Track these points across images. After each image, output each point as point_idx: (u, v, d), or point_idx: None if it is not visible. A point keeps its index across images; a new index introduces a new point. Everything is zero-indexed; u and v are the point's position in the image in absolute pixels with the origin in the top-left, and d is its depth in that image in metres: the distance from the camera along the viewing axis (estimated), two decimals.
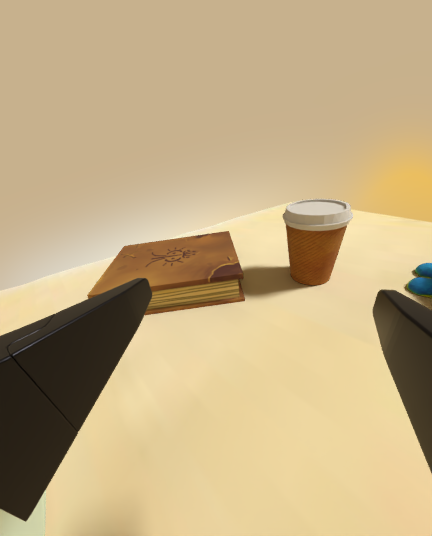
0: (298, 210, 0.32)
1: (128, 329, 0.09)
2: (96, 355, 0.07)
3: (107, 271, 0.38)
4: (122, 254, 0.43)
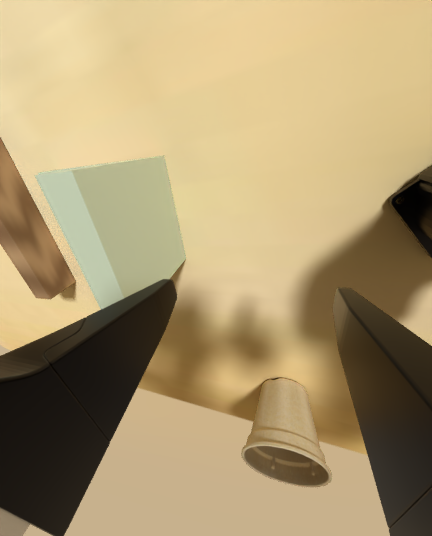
0: None
1: (156, 333, 0.08)
2: (127, 361, 0.07)
3: None
4: None
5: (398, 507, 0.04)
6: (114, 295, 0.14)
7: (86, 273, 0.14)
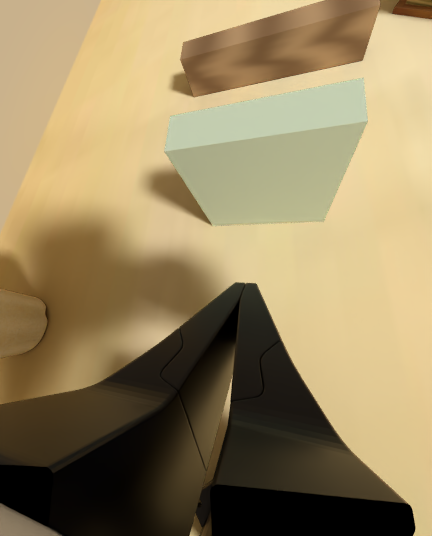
0: None
1: None
2: (221, 377, 0.06)
3: None
4: None
5: None
6: (205, 134, 0.12)
7: (237, 106, 0.12)
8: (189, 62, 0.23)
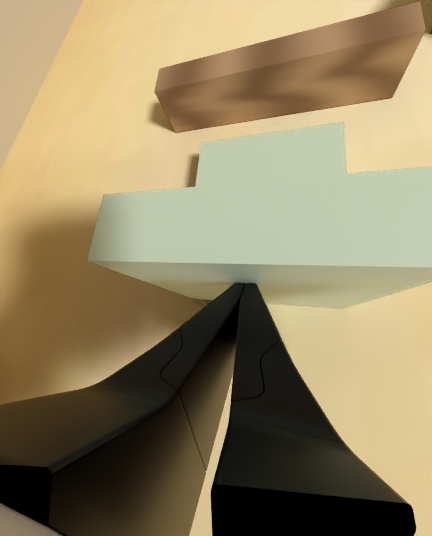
0: None
1: None
2: (221, 377, 0.06)
3: None
4: None
5: None
6: (153, 240, 0.07)
7: (209, 192, 0.07)
8: (166, 95, 0.18)
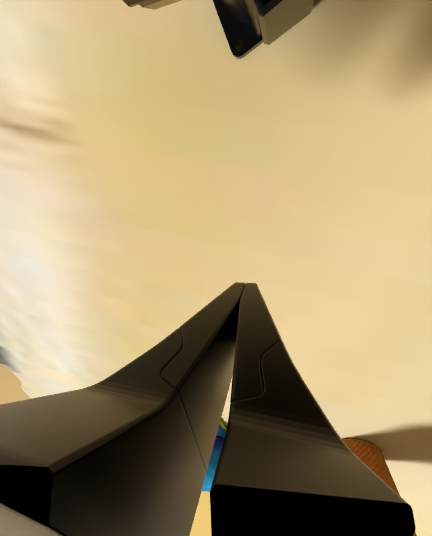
0: None
1: None
2: (221, 377, 0.06)
3: None
4: None
5: None
6: None
7: None
8: None
